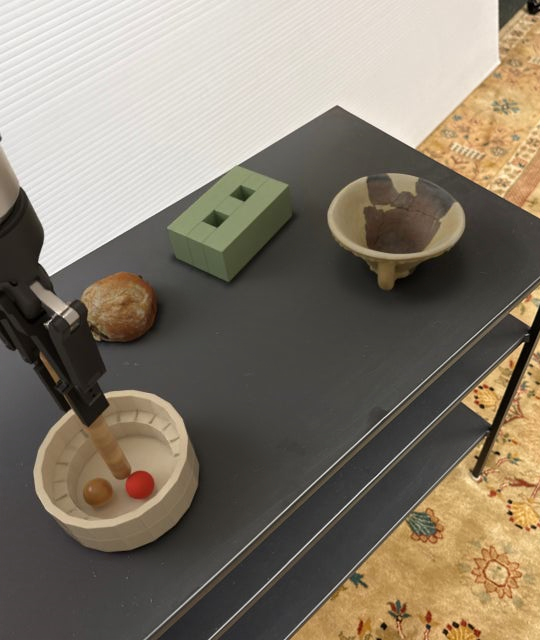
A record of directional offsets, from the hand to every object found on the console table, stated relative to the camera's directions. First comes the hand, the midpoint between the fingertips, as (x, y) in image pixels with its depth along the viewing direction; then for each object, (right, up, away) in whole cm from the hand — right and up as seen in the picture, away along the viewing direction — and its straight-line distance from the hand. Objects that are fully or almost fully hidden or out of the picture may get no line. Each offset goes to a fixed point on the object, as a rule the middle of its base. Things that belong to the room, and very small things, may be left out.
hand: (85, 407), depth 59 cm
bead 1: (-2, -10, +10) cm, 15 cm away
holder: (+9, +20, +38) cm, 44 cm away
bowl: (+32, +16, +33) cm, 49 cm away
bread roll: (-5, +9, +29) cm, 31 cm away
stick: (0, -8, +11) cm, 13 cm away
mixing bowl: (0, -10, +13) cm, 16 cm away
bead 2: (+2, -10, +10) cm, 14 cm away
